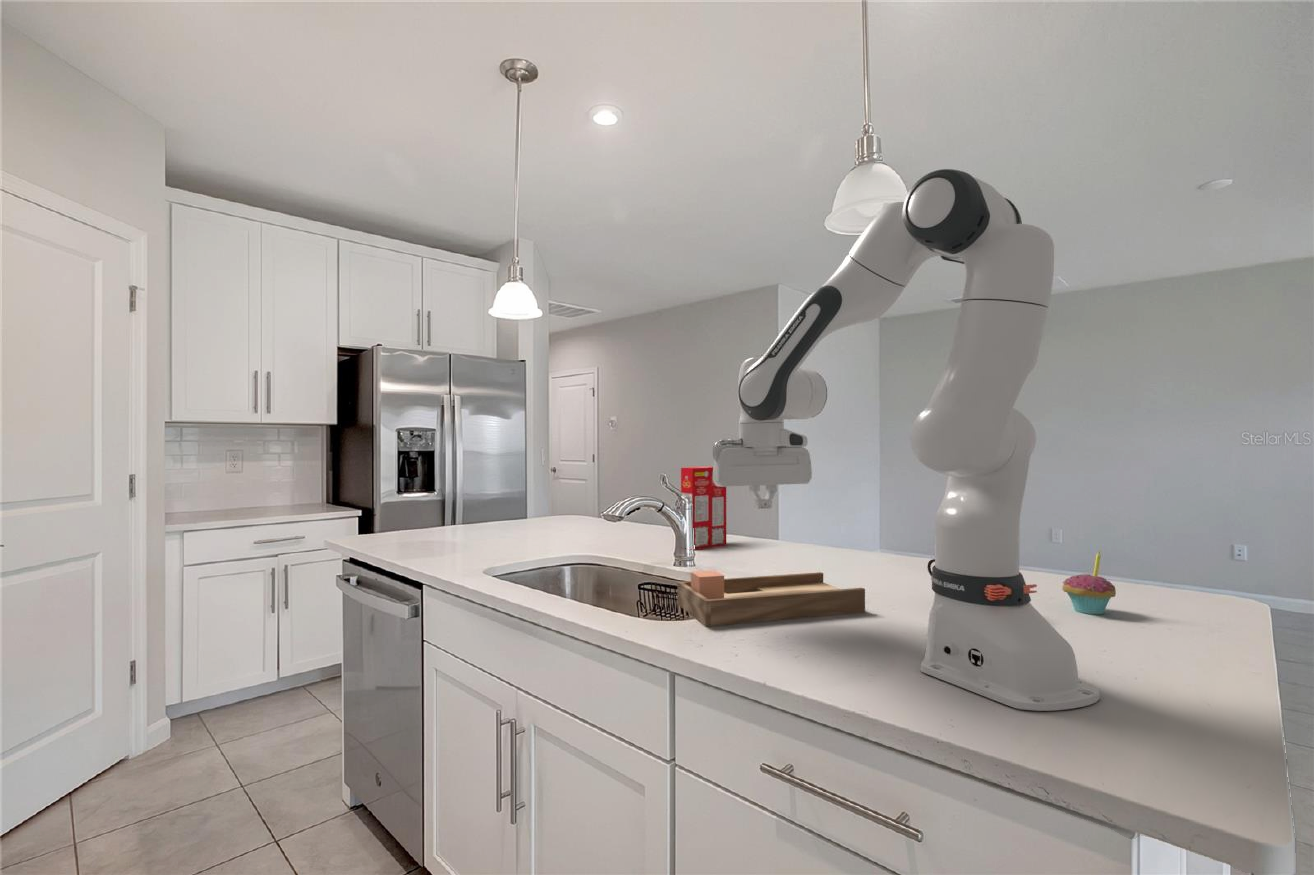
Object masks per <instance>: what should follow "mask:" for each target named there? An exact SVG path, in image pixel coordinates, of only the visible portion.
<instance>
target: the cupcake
mask: <svg viewBox="0 0 1314 875" xmlns="http://www.w3.org/2000/svg"><path fill="white" fill-rule="evenodd" d="M1101 550H1102V549H1099V551H1098V553H1096V556H1095V563H1094V569H1093V574H1089V573H1088V574H1085V573H1083V574H1078V575H1072V576H1069V577H1068V578H1066V579H1065V580H1064V581H1062V584H1063V585H1062V587H1061V588H1062V589H1061V590H1062V591H1063V592H1065V593H1067V596H1068V597H1069V599H1070V600H1071V603H1072V607H1073V610H1074V611H1076V612H1078V613H1081V614H1087V615H1097V616H1098V615H1103V614H1104V613H1105V611H1106V608H1107V606H1108V603H1109V602H1110V600H1111V598H1114V597H1116V594H1117V592H1116V586H1115V585H1114V584H1112V582H1110V581H1109V580H1107V579H1106V578H1105V577H1102V576H1098V574H1099V568H1100V563H1101V562H1100V561H1101V556H1102V555H1101Z"/></svg>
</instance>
